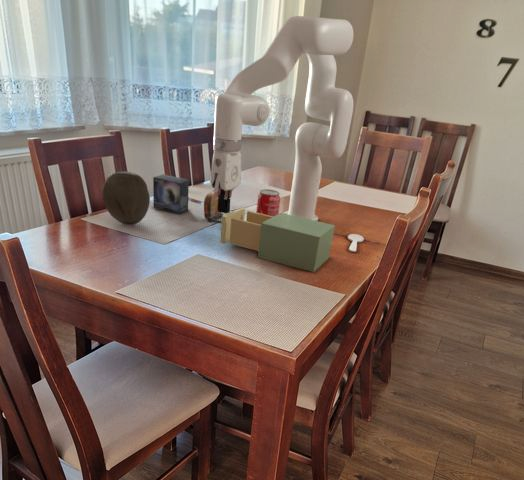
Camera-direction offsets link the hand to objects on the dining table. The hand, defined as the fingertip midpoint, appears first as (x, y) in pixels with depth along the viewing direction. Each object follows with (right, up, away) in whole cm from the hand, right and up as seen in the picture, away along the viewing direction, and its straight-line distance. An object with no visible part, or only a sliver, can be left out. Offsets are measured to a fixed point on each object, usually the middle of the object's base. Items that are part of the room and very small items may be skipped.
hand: (223, 211), depth 141 cm
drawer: (+6, -9, +1) cm, 11 cm away
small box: (-20, +8, +24) cm, 33 cm away
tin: (-6, +5, +22) cm, 24 cm away
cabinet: (+21, -14, -3) cm, 25 cm away
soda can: (+12, -3, +14) cm, 19 cm away
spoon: (+41, -6, +14) cm, 44 cm away
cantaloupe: (-30, -1, +7) cm, 31 cm away
